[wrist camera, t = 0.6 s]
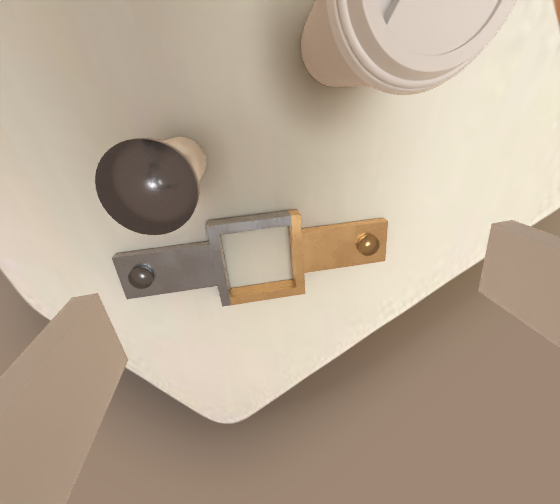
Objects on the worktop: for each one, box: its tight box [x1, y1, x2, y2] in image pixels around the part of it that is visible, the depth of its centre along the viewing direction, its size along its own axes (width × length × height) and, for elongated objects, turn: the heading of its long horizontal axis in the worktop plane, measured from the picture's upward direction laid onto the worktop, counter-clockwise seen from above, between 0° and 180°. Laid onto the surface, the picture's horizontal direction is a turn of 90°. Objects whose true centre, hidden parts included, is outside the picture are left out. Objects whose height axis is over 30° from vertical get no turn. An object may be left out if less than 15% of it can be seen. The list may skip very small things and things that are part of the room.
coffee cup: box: [301, 0, 516, 95], centre depth 19 cm, size 10×10×15 cm
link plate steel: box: [112, 210, 292, 306], centre depth 32 cm, size 10×19×2 cm, turn 95°
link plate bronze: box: [230, 209, 388, 305], centre depth 33 cm, size 10×19×2 cm, turn 95°
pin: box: [95, 137, 206, 235], centre depth 22 cm, size 5×5×13 cm
